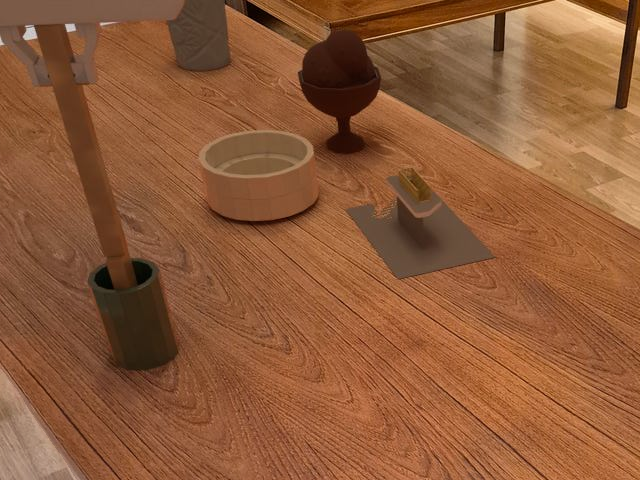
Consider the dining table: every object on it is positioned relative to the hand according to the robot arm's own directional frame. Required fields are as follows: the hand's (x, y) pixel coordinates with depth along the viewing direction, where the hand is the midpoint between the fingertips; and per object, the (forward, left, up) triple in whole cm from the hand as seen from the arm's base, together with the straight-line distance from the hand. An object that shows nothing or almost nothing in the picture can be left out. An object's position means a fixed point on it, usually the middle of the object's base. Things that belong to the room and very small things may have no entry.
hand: (66, 83), depth 69 cm
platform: (+29, +21, -26) cm, 44 cm away
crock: (0, 0, -26) cm, 26 cm away
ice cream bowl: (+22, +47, -26) cm, 58 cm away
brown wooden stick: (0, 0, -20) cm, 20 cm away
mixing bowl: (+11, +32, -26) cm, 43 cm away
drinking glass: (+1, +83, -26) cm, 87 cm away
